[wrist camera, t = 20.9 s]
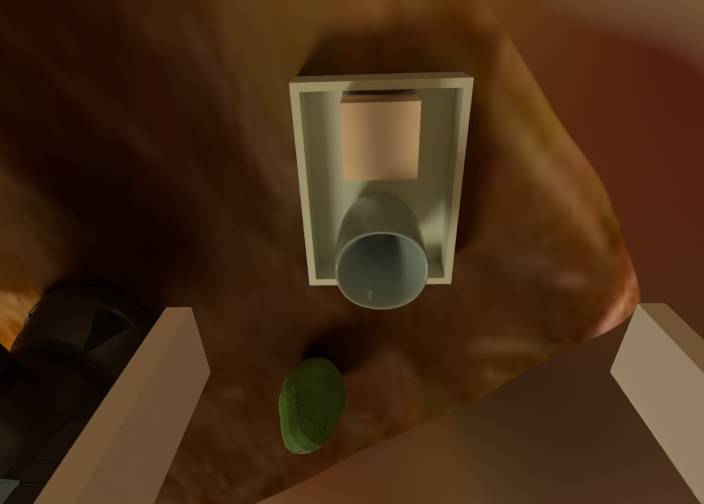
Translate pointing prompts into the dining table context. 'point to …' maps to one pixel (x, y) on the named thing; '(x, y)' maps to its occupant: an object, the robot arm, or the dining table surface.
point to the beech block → (380, 134)
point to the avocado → (310, 404)
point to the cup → (381, 253)
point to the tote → (419, 194)
